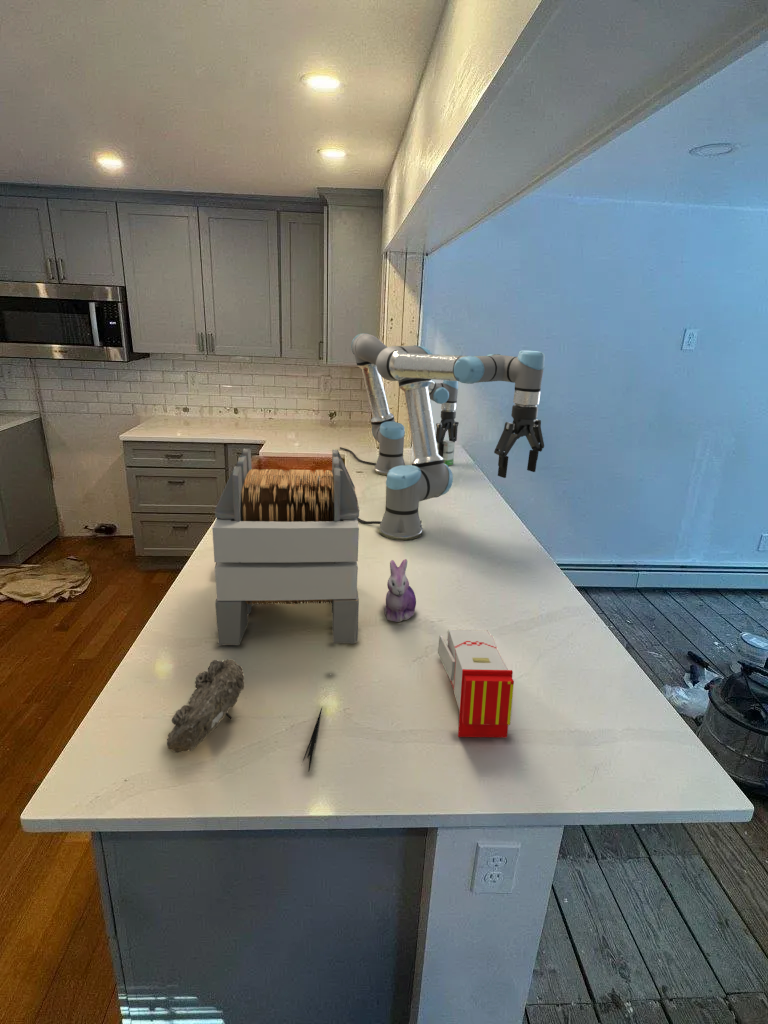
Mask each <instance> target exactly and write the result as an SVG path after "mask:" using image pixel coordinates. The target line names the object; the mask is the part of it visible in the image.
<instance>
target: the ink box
mask: <svg viewBox="0 0 768 1024" xmlns="http://www.w3.org/2000/svg"><path fill="white" fill-rule="evenodd" d="M455 443H456V441H455V442H452V441H449V439H445V438H444V441H443V444H444V449H443V457H442V458H443V460H444V464H446V465H447V466H452V465H454V462H455V461H454V460H455V459H454V458H455V446H456V445H455ZM437 449H438V443H437ZM438 453H439V450H438Z"/></svg>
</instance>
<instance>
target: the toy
mask: <svg viewBox="0 0 768 1024" xmlns="http://www.w3.org/2000/svg"><path fill="white" fill-rule="evenodd" d="M446 640H447V643H446V641H445V639H444V636H443V635H442V634H439V637H438V646H437V656H438V657H439V659H440V661H441V663H442V666H443V668H444V670H445V672H446V674H447V677H448V679H449V681H450V684H451V687H452V690H453V693H454V697H455V701H456V705H457V708H458V711H459V714H458V715H459V716H458V730H457V731H458V732H457V737H458V738H508V731H509V726H510V725H511V717H512V707H513V697H514V696H513V695H514V684H515V680H514V679H513V673H514V671H513V670H512V669H508V667H507V665H506V662H505V661H504V659H503V658H502V655H501V653H500V651H499V649H498V647H497V643H496V639H495V637H494V635H493V634H491V632H490V631H489V629H467V628H466V629H465V628H463V629H461V628H460V629H459V628H448V630H447V639H446Z"/></svg>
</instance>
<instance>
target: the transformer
mask: <svg viewBox="0 0 768 1024" xmlns="http://www.w3.org/2000/svg"><path fill="white" fill-rule="evenodd" d="M331 454H332V455H331V458H332V459H331V469H325V470H324V469H315V470H311V469H289V470H283V469H281V468H280V469H278V468H277V469H273V468H271V469H269V468H266V469H265V468H260V469H259V468H258V469H257V468H252V466H253V465H252V452H251V448H243V449H242V451H241V453H240V455H239V457H238V460H237V462H236V464H235V465H234V466H233V468H232V470H231V473H230V475H229V477H228V479H227V482H226V484H225V486H224V488H223V491H222V492H221V495H220V497H219V499H218V501H217V504H216V506H215V509H214V517H215V518H216V520H214V523H213V525H212V543H213V544H212V545H213V561H214V563H215V564H216V562H217V564H216V567H215V566H214V574H215V591H216V599H215V604H214V605H215V619H216V620H215V621H216V629H217V641H218V642H217V646H219V647H220V646H221V647H225V646H240V644H241V643H242V640H243V637H244V634H245V632H246V629H247V627H248V624H249V615H251V611H252V606H253V605H272V604H273V605H278V604H279V605H281V604H282V605H290V604H292V605H297V604H299V605H300V604H309V605H310V604H315V605H316V604H331V623H332V624H331V626H332V644H351V645H355V644H356V643H357V642H359V607H360V605H359V603H360V598H359V591H358V575H359V574H358V571H359V566H358V562H359V538H360V537H359V535H360V526H359V521H358V520H357V518H359V517H360V507H359V503H358V497H357V493H356V486H355V484H354V482H353V480H352V477H351V475H350V473H349V471H348V468H347V466H346V464H345V462H344V460H343V458H342V455H341V454H340V451H339V450H338V449H332V453H331Z"/></svg>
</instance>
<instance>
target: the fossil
mask: <svg viewBox="0 0 768 1024" xmlns="http://www.w3.org/2000/svg"><path fill="white" fill-rule="evenodd" d="M243 670H244V669H243V667H242V665H240V664H237V662H236V661H235V660H234V659H232V658H231V659H227V658H226V659H224V660H223V661H222V660H217V659H212V660H211V661H210V663H209V665H208V666H207V671H201V672H199V673H198V674H197V675H196V676H195V680H194V684H195V685H194V687H195V689H194V690H193V693H192V694H191V697H190V698H189V700H188V704H184V705H182V706H181V707H180V709H177V710H176V711H175V713H174V715H173V716H172V718H171V723H172V724H173V727H172V730H171V731H170V732H168V734H167V738H166V741H167V742H166V745H167V749H168V750H169V751H173V752H174V753H176V754H178V753H182V752H188V751H189V752H192V751H193V750H195V748H196V747H197V746H199V744H200V743H201V742H203V741H204V740H205V739H206V738H207V737H208V736H209V735H210V734H211V733H212V732H214V730H215V729H217V727H218V726H219V724H220V722H221V721H222V720H223V719H224V718H225V716H226V717H227V719H229V720H233V717H232V715H230V714H229V710H230V709H231V708H234V706H235V704H236V703H237V702H238V699H239V697H240V695H241V693H242V691H243V690H245V689H244V688H245V675H244V671H243Z"/></svg>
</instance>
